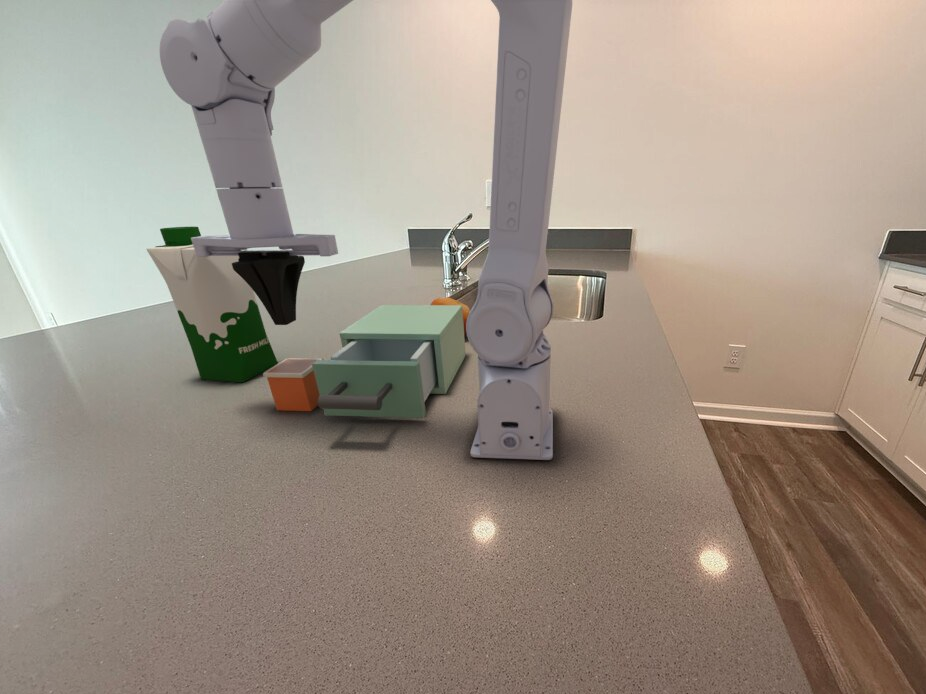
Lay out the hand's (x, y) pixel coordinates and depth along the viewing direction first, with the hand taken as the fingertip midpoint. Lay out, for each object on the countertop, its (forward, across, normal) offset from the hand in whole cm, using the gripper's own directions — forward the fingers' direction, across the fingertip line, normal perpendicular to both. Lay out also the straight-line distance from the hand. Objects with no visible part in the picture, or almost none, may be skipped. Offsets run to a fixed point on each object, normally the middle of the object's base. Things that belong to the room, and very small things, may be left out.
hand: (285, 322), depth 46 cm
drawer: (+10, -10, 0) cm, 14 cm away
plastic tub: (+10, +1, 0) cm, 11 cm away
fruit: (+11, -12, -26) cm, 31 cm away
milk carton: (+11, +16, -10) cm, 21 cm away
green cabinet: (+10, -10, -10) cm, 18 cm away
